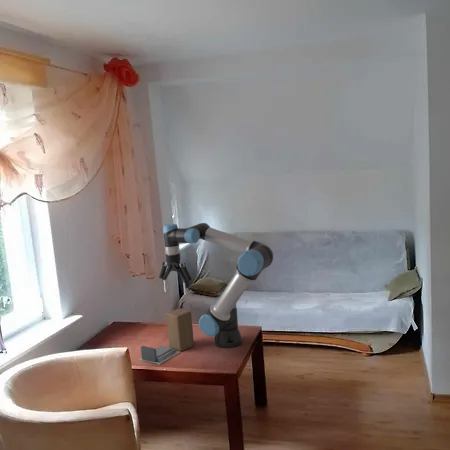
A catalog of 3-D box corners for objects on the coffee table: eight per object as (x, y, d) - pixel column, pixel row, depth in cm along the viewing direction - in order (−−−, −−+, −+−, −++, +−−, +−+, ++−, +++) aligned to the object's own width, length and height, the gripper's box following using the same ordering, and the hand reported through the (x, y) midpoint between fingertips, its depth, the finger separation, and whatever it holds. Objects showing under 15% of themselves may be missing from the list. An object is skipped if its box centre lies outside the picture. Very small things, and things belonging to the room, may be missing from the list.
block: (168, 348, 294) (165, 312, 290) (182, 342, 301) (179, 307, 297) (180, 352, 287) (177, 316, 283) (194, 346, 294) (191, 310, 290)
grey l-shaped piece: (179, 352, 286) (178, 339, 285) (159, 364, 273) (157, 350, 272) (159, 348, 294) (158, 335, 293) (138, 360, 281) (137, 346, 280)
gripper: (195, 253, 281) (199, 292, 285) (159, 250, 295) (163, 288, 299) (186, 256, 275) (190, 297, 279) (150, 253, 289) (154, 292, 293)
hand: (176, 292), depth 289 cm, fingers open, 13 cm apart
